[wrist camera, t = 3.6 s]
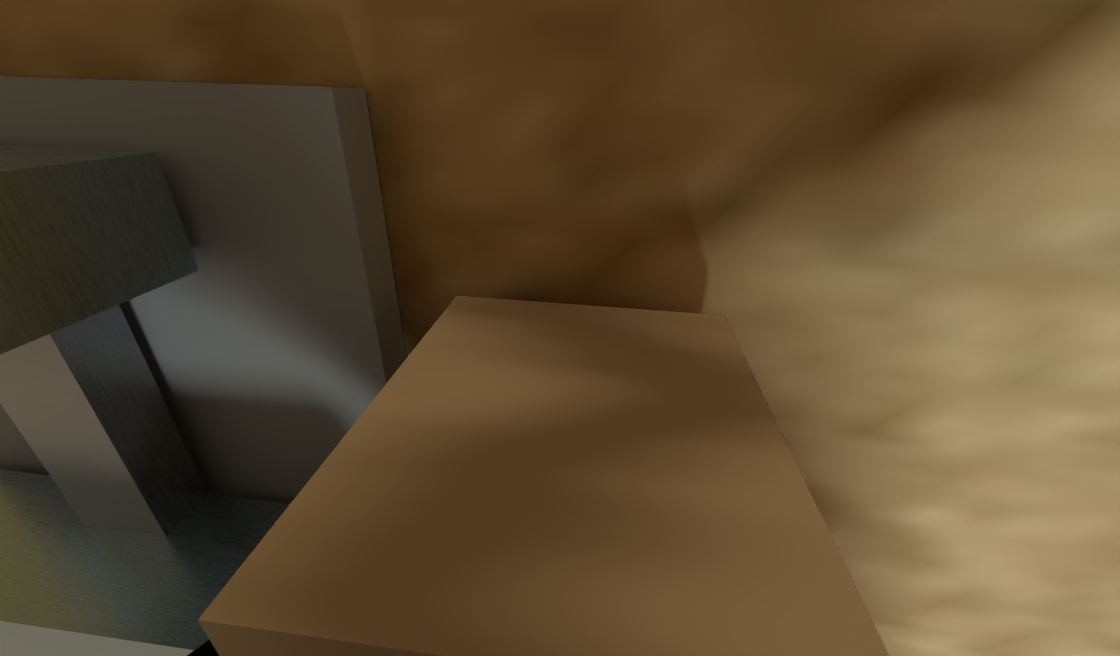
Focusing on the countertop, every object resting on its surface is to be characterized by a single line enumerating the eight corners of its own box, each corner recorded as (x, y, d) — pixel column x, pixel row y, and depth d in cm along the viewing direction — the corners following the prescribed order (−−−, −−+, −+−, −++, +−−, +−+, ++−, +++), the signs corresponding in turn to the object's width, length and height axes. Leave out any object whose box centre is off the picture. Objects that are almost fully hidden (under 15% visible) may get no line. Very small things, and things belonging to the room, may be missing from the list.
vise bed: (364, 87, 8) (86, 81, 4) (465, 736, 19) (424, 908, 15) (-232, 68, 9) (-959, 46, 5) (200, 694, 20) (96, 844, 16)
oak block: (724, 315, 8) (922, 725, 3) (669, 562, 11) (714, 966, 6) (456, 295, 9) (198, 619, 3) (477, 538, 12) (363, 897, 7)
